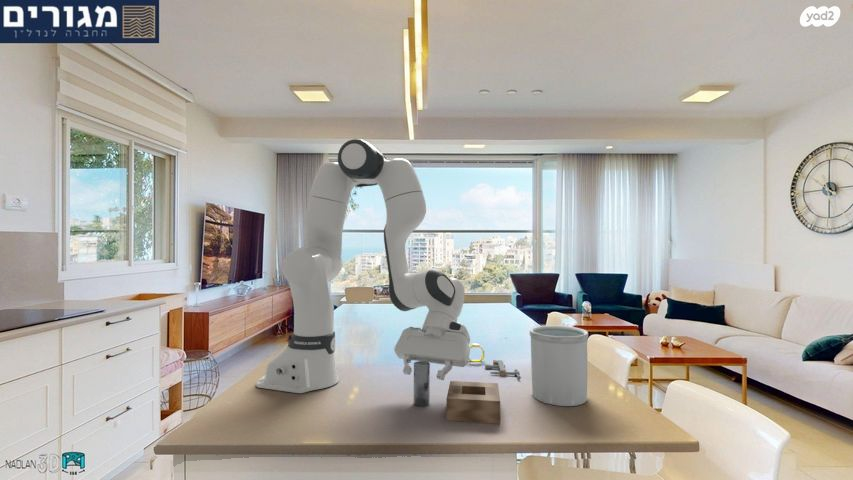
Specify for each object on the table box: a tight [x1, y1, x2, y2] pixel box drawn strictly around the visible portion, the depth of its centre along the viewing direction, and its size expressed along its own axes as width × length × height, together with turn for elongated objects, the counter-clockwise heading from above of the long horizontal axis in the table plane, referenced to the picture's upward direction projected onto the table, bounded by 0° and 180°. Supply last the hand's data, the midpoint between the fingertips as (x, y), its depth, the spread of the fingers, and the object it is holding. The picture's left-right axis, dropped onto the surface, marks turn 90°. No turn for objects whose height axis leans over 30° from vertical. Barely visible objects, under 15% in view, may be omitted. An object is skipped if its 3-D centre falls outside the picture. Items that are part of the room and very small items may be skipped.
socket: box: [445, 380, 501, 425], centre depth 98 cm, size 12×12×5 cm
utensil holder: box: [529, 324, 589, 407], centre depth 108 cm, size 15×15×18 cm
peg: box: [413, 361, 431, 408], centre depth 102 cm, size 4×4×10 cm
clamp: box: [484, 359, 522, 380], centre depth 128 cm, size 15×2×10 cm
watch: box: [468, 342, 485, 363], centre depth 140 cm, size 6×3×6 cm, turn 93°
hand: (422, 376), depth 103 cm, fingers open, 8 cm apart
